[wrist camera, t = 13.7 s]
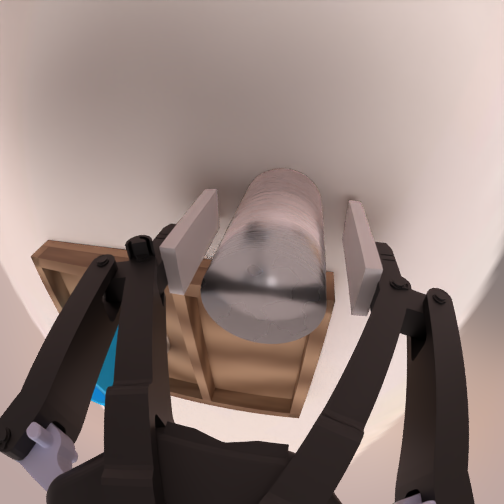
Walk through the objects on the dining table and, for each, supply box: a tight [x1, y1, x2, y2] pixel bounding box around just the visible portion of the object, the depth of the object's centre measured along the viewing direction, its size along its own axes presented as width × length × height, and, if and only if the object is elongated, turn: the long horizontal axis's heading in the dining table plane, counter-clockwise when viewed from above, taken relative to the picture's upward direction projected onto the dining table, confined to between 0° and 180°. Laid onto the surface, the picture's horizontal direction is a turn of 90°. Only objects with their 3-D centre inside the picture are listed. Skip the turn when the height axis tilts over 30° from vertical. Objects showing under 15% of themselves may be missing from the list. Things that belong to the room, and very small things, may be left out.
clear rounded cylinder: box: [200, 168, 327, 344], centre depth 15 cm, size 5×5×9 cm
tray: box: [31, 240, 335, 418], centre depth 27 cm, size 20×28×3 cm
